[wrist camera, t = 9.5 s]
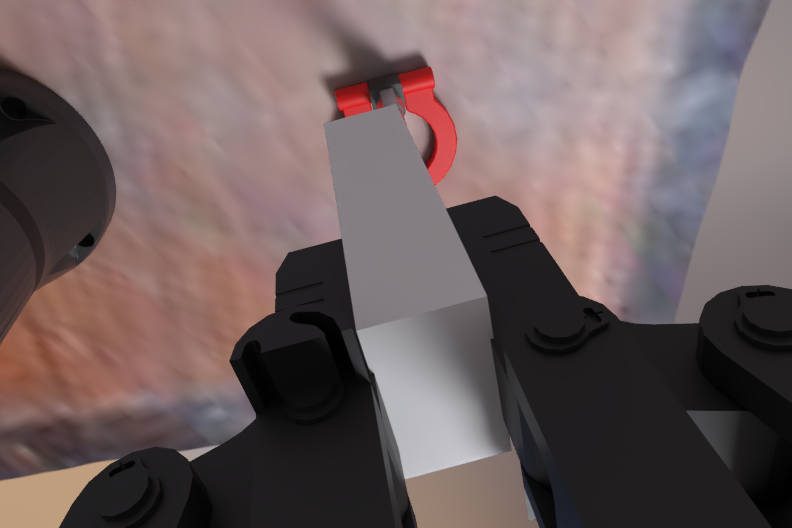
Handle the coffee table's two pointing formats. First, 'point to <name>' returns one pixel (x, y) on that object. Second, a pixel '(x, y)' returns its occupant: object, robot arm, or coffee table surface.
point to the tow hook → (417, 99)
